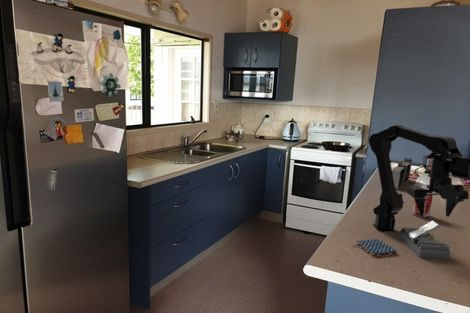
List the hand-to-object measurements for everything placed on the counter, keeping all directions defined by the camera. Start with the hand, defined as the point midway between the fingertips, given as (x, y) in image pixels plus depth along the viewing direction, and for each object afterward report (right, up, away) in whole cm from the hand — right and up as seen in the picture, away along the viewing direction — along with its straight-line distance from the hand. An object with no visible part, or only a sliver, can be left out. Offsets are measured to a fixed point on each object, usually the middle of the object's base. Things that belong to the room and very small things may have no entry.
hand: (434, 215), depth 124 cm
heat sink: (-3, -12, +2) cm, 12 cm away
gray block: (-3, -6, +1) cm, 7 cm away
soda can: (+14, -6, +36) cm, 39 cm away
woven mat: (-21, -12, -1) cm, 24 cm away
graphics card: (+31, +4, +91) cm, 96 cm away
